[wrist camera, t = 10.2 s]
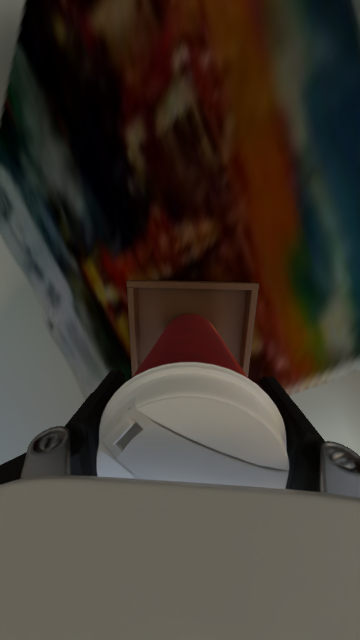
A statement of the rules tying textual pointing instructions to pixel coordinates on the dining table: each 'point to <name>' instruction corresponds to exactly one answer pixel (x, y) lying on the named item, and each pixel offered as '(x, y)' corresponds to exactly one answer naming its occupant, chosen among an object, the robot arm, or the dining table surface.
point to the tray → (191, 298)
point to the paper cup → (193, 417)
